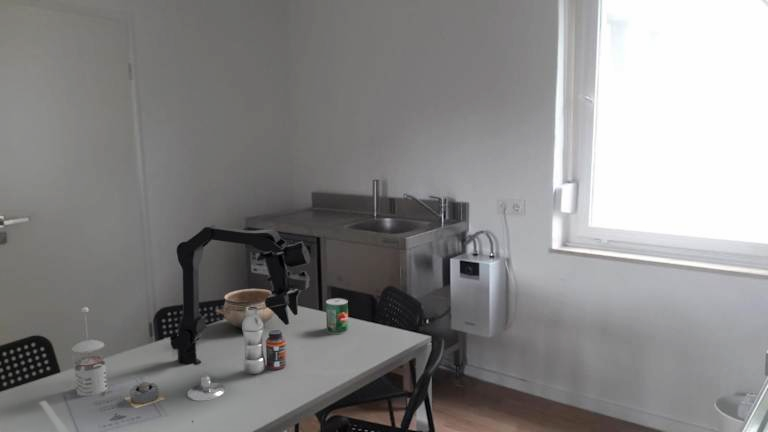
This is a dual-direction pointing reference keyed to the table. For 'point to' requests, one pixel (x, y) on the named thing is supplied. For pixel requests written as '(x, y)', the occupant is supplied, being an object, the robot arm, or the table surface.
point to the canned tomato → (337, 315)
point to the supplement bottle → (275, 350)
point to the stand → (143, 387)
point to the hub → (206, 390)
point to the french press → (89, 367)
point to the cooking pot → (245, 305)
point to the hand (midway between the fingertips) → (291, 319)
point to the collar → (144, 394)
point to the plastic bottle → (253, 342)
